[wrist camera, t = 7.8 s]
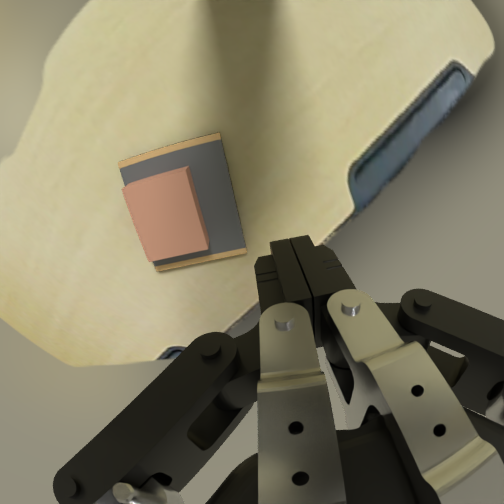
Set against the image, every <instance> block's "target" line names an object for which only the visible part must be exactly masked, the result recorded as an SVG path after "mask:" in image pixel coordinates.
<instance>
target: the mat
mask: <svg viewBox="0 0 504 504" xmlns="http://www.w3.org/2000/svg"><path fill="white" fill-rule="evenodd" d="M118 166H119V169H120V172H121V175H122V178H123V181H124V184H125V186H126V185H127V184H129V183H132V182H135V181H138V180H141V179H144V178H147V177H151V176H154V175H157V174H161V173H164V172H168V171H171V170H175V169H178V168H182V167H186V166H189V168H190V172H191V176H192V179H193V183H194V187H195V190H196V194H197V198H198V201H199V205H200V209H201V212H202V216H203V219H204V223H205V226H206V230H207V233H208V236H209V247H208V249H207V250H202V251H198V252H193V253H188V254H184V255H179V256H175V257H170V258H165V259H161V260H156V261H153V263H154V266H155V268H156V271H162V270H167V269H172V268H177V267H181V266H186V265H191V264H196V263H201V262H206V261H210V260H215V259H220V258H225V257H230V256H235V255H239V254H244V253H247V250H246V245H245V241H244V237H243V232H242V228H241V224H240V219H239V215H238V211H237V206H236V202H235V198H234V193H233V189H232V185H231V180H230V176H229V172H228V167H227V163H226V158H225V154H224V150H223V145H222V141H221V136H220V132H219V133H215V134H210V135H206V136H202V137H198V138H194V139H191V140H187V141H183V142H180V143H176V144H173V145H169V146H166V147H162V148H159V149H156V150H153V151H150V152H146V153H143V154H140V155H137V156H135V157H132V158H129V159H126V160H123V161H120V162H118Z"/></svg>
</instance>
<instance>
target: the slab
mask: <svg viewBox="0 0 504 504" xmlns="http://www.w3.org/2000/svg"><path fill="white" fill-rule="evenodd" d="M122 192H123V195H124V198H125V201H126V203H127V206H128V209H129V212H130V215H131V217H132V220H133V223H134V226H135V228H136V231H137V234H138V236H139V239H140V241H141V244H142V246H143V249H144V251H145V254H146V256H147V259H148V261H149V262H152V261H156V260H161V259H165V258H170V257H175V256H179V255H184V254H188V253H193V252H198V251H202V250H207V249H208V247H209V236H208V233H207V230H206V226H205V223H204V219H203V216H202V212H201V209H200V205H199V201H198V198H197V194H196V190H195V187H194V183H193V179H192V176H191V172H190V168H189V166H186V167H182V168H178V169H175V170H171V171H168V172H164V173H161V174H157V175H154V176H151V177H147V178H144V179H141V180H138V181H135V182H132V183H129V184H127V185H126V186H125V187H124V188H122Z"/></svg>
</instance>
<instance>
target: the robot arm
mask: <svg viewBox="0 0 504 504" xmlns="http://www.w3.org/2000/svg"><path fill="white" fill-rule="evenodd" d="M270 249H271V255H267V256H262V257H258V259H257V261H256V263H255V265H254V268H255V274H256V281H257V288H258V295H259V301H260V308H261V317H260V320H259V322H258V324H257V325H256V326H255V327H254V328H253V329H252V330H250V331H249V332H247V333H245V334H243V335H241V336H238V337H236V338H234V339H233V338H232V337H231V336H229V335H228V334H225V333H221V332H211V333H206V334H204V335H201V336H199V337H198V338H196V339H195V340H194V341H193V342H192V343H191V344H190V345H189V346H188V347H187V348H186V349H185V350H184V351H183V352H182V353H181V354H180V355H179V356H178V357H177V358H176V359H175V360H174V361H173V362H172V363H171V364H170V365H169V366H168V367H167V368H166V369H165V370H164V371H163V372H162V373H161V374H160V375H159V376H158V377H157V378H156V379H155V380H153V382H151V383H150V384H149V385H148V386H147V387H146V388H145V389H144V390H143V391H142V392H141V393H140V394H139V395H138V396H137V397H136V398H135V399H134V400H133V401H132V402H131V403H130V404H129V405H128V406H127V407H126V408H125V409H124V410H123V411H122V412H121V413H120V414H118V415H117V416H116V418H114V419H113V420H112V421H111V422H110V423H109V424H108V425H107V426H106V427H105V428H104V429H103V430H102V431H101V432H100V433H99V434H97V435H96V436H95V437H94V438H93V439H92V440H91V441H90V442H89V443H88V444H87V445H86V446H85V447H84V448H82V449H81V450H80V451H79V452H78V453H77V454H76V455H75V456H74V457H73V458H72V459H71V460H70V461H68V462H67V463H66V464H65V465H64V466H63V467H62V468H61V469H60V470H59V471H58V472H57V474H56V475H55V477H54V481H53V490H54V494H55V497H56V499H57V501H58V502H59V504H184V502H183V499H182V497H181V495H180V494H179V492H180V491H181V490H182V489H183V488H184V487H185V486H186V485H187V483H188V482H189V481H190V480H191V479H192V478H193V477H194V476H195V475H196V474H197V473H198V472H199V470H200V469H201V468H202V467H203V466H204V465H205V464H206V463H207V461H208V460H209V459H210V458H211V457H212V456H213V455H214V453H215V452H216V451H217V450H218V449H219V448H220V446H221V445H222V444H223V443H224V442H225V440H226V439H227V438H228V437H229V435H230V434H231V433H232V432H233V431H234V429H235V428H236V427H237V426H238V424H239V423H240V422H241V420H242V419H243V418H244V416H245V415H246V414H247V413H248V411H249V410H250V409H251V407H252V406H253V403H254V402H256V401H257V408H258V411H257V414H258V453H256V454H254V455H252V456H251V457H249V458H247V459H246V460H244V461H243V462H242V463H241V464H239V465H238V466H237V467H236V468H235V469H234V470H233V471H232V472H231V473H230V474H229V476H228V477H227V478H226V479H225V480H224V482H223V483H222V484H221V485H220V487H219V488H218V489H217V490H216V492H215V493H214V494H213V495H212V496H211V498H210V499H209V500H208V501H207V502H206V503H205V504H504V320H502V319H499V318H497V317H494V316H492V315H489V314H487V313H484V312H482V311H480V310H477V309H475V308H472V307H470V306H467V305H465V304H462V303H460V302H457V301H454V300H452V299H449V298H447V297H444V296H442V295H439V294H437V293H434V292H431V291H429V290H425V289H413V290H410V291H408V292H406V293H405V294H404V295H403V296H402V298H401V302H400V303H377V302H374V301H373V299H372V298H371V297H370V296H369V295H368V294H367V293H365V292H363V291H360V290H357V289H356V288H355V286H354V284H353V283H352V281H351V279H350V278H349V276H348V274H347V273H346V271H345V269H344V268H343V267H342V264H341V263H340V261H339V260H338V258H337V256H336V255H335V253H334V252H333V250H331V249H329V248H328V247H326V246H325V245H320V246H314V244H313V243H312V241H311V239H310V237H309V236H308V235H304V236H299V237H294V238H289V239H283V240H278V241H272V242H270ZM431 341H433V342H435V343H438V344H440V345H442V346H445V347H447V348H449V349H451V350H454V351H456V352H459V353H461V354H463V355H465V356H464V357H462V358H458V357H454V356H452V355H450V354H448V353H446V352H443V351H441V350H439V349H436V348H434V347H432V346H430V342H431ZM318 347H324V350H325V353H326V367H327V369H328V372H329V374H330V376H331V379H332V381H333V383H334V386H335V388H336V391H337V393H338V395H339V398H340V400H341V403H342V405H343V407H344V411H345V417H346V424H347V428H348V430H336V429H335V424H334V418H333V413H332V408H331V402H330V397H329V392H328V387H327V382H326V378H325V374H324V372H321V369H320V364H319V359H318V354H317V350H316V348H318ZM463 406H464V407H463ZM465 407H466V408H465ZM467 408H468V409H467ZM469 409H470V410H469ZM471 410H473V411H475V412H477V413H480V414H483V415H485V416H486V417H484V416H482V415H479V414H477V413H475V412H473V411H471Z"/></svg>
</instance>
